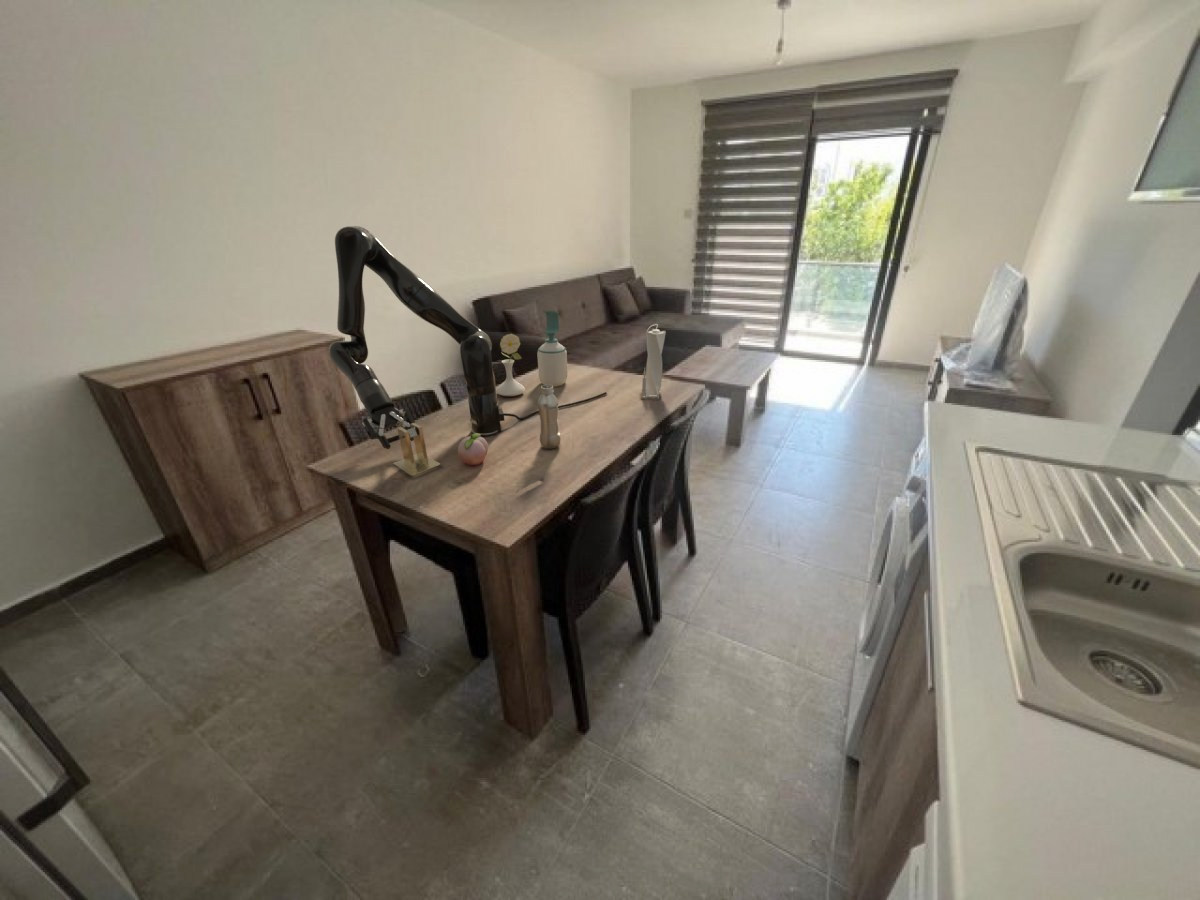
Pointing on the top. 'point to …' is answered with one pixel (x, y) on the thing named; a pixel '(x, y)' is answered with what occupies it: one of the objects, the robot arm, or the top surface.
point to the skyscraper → (653, 364)
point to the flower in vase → (510, 366)
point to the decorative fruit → (473, 449)
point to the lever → (411, 434)
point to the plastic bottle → (548, 418)
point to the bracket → (410, 462)
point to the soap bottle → (552, 354)
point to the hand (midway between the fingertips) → (401, 443)
